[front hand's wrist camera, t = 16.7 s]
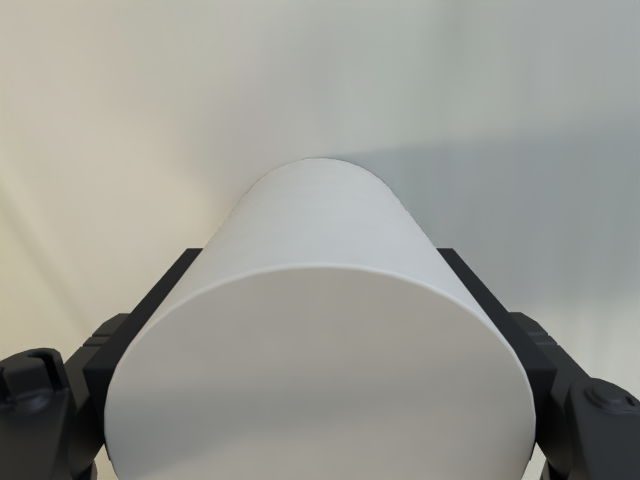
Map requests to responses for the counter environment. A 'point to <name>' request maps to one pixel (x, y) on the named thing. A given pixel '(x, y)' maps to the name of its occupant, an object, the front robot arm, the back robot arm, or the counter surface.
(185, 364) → the canister
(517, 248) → the counter surface
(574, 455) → the front robot arm
